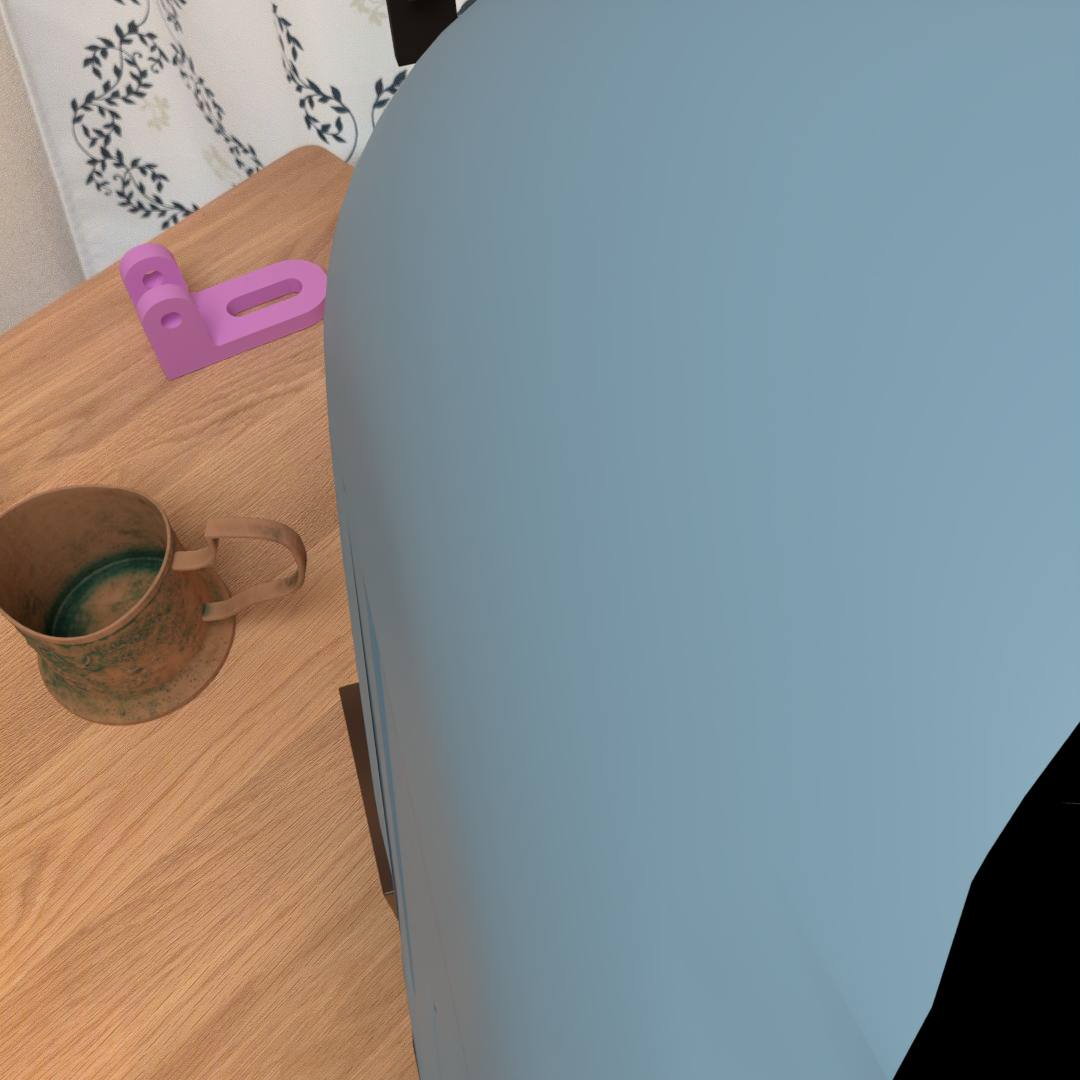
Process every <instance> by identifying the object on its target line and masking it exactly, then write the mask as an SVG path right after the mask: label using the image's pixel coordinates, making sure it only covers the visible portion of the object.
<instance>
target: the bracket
mask: <svg viewBox="0 0 1080 1080" xmlns="http://www.w3.org/2000/svg"><path fill="white" fill-rule="evenodd" d="M180 269H181V268H180V267H179V265H178V263H177V261H176V259H175V257H174V254H173V252H172V251H171V250H170V249H169V248H167V247H166V246H164V245H161V244H158V243H142V244H138V245H136V246H134V247H132V248H130V249H129V250H128V251H127V252H125V253H124V254H123V256H122V257H121V258H120V261H119V263H118V272H119V275H120V277H121V280H122V283H123V285H124V288H125V289H126V291H127V294H128V295H129V298H130V300H131V302H132V305H133V306H134V309H135V311H136V315H137V318H138V320H139V322H140V325H141V327H142V329H143V331H144V334H145V335H146V338H147V339H148V342H149V344H150V346H151V348H152V351H153V352H154V354H155V357H156V358H157V361H158V363H159V364H160V367H161V369H162V371H163V373H164V374H165V377H166V379H167V381H168V382H170V381H172V380H175V379H178V378H180V377H183V376H185V375H187V374H190V373H193V372H196V371H198V370H201V369H204V368H206V367H209V366H212V365H214V364H216V363H219V362H221V361H225V360H226V359H227V360H228V359H230V358H232V357H234V356H237V355H240V354H242V353H245V352H248V351H250V350H253V349H256V348H258V347H261V346H263V345H265V344H268V343H271V342H273V341H277V340H278V339H281V338H284V337H287V336H290V335H292V334H294V333H297V332H299V331H302V330H304V329H308V328H309V327H312V326H313V325H316V324H317V323H318V322H320V321H321V320H322V319H324V308H325V296H326V285H327V274H326V272H325V271H324V269H323V268H321V266H319V265H318V264H316V263H314V262H312V261H309V260H305V259H297V258H296V259H286V260H281V261H278V262H277V261H276V262H275V263H271V264H269V265H266V266H263V267H260V268H259V269H255V270H253V271H250V272H247V273H245V274H242V275H239V276H237V277H234V278H231V279H229V280H226V281H223V282H221V283H218V284H215V285H212V286H210V287H207V288H205V289H204V288H203V289H201V290H199V291H196V292H192V291H189V288H188V286H187V283H186V281H185V279H184V277H183V274H182V271H181V270H180ZM149 272H151V273H149ZM292 293H297V294H296V295H294V296H291V297H289V298H286V299H284V300H281V301H278V302H276V303H273V304H270V305H268V306H265V307H262V308H259V309H257V310H254V311H252V312H248V313H246V314H244V315H241V316H236V315H237V314H238V313H241V312H244V311H247V310H249V309H251V308H254V307H257V306H260V305H262V304H265V303H268V302H270V301H273V300H275V299H278V298H280V297H283V296H286V295H288V294H289V295H290V294H292Z"/></svg>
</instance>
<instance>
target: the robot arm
mask: <svg viewBox="0 0 1080 1080" xmlns="http://www.w3.org/2000/svg"><path fill="white" fill-rule="evenodd" d="M385 3H386V4H385V5H386V9H387V10H386V11H387V17H388V23H389V28H390V35H391V41H392V48H393V54H394V59H395V61H396V64H397V66H398V68H402V67H406V66H410V65H413V67H412V68H411V70H410V71H409V72H408V74H407V75H406V77H405V78H404V79H403V81H402V83H401V84H400V85H399V86H398V88H397V90H396V91H395V92H394V94H393V95H392V97H391V98H390V100H389V101H388V103H387V105H386V107H385V108H384V110H383V112H381V115H380V116H379V118H378V119H377V121H376V123H375V126H374V128H373V129H372V132H371V134H370V136H369V138H368V140H367V141H366V144H365V146H364V148H363V150H362V152H361V154H360V156H359V159H358V160H357V162H356V164H355V166H354V168H353V172H352V175H351V177H350V181H349V183H348V185H347V188H346V191H345V194H344V197H343V200H342V203H341V206H340V208H339V213H338V218H337V221H336V225H335V228H334V232H333V237H332V242H331V249H330V255H329V262H328V269H327V274H326V275H327V285H326V296H325V308H324V317H323V355H324V356H323V357H324V358H323V359H324V373H325V374H324V375H325V377H324V378H325V391H326V406H327V407H326V409H327V420H328V433H329V434H328V435H329V442H330V450H331V451H330V452H331V453H330V454H331V462H332V472H333V483H334V492H335V501H336V509H337V519H338V529H339V537H340V546H341V555H342V562H343V565H342V566H343V571H344V572H343V573H344V580H345V589H346V596H347V605H348V610H349V617H350V619H349V620H350V626H351V633H352V642H353V649H354V656H355V663H356V671H357V679H358V682H359V687H360V695H361V702H362V709H363V716H364V723H365V730H366V737H367V744H368V751H369V758H370V766H371V773H372V780H373V787H374V794H375V800H376V805H377V811H378V817H379V822H380V828H381V832H382V836H383V840H384V844H385V849H386V853H387V857H388V861H389V866H390V870H391V874H392V879H393V886H394V893H395V900H396V907H397V914H398V920H397V922H398V921H399V922H398V927H399V928H398V929H399V934H400V948H401V950H400V951H401V963H402V964H401V965H402V974H403V975H402V976H403V982H404V987H405V995H406V1001H407V1006H408V1012H409V1019H410V1026H411V1036H412V1037H411V1039H412V1048H413V1054H414V1057H415V1063H416V1069H417V1074H418V1078H419V1079H418V1080H1080V0H475V1H474V2H473V3H472V4H471V5H470V6H468V8H467V9H465V11H464V12H462V13H461V14H460V15H459V16H458V11H457V1H456V0H385Z"/></svg>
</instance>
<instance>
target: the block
mask: <svg viewBox="0 0 1080 1080" xmlns="http://www.w3.org/2000/svg"><path fill="white" fill-rule="evenodd" d="M338 693H339V698H340V702H341V707H342V712H343V716H344V721H345V725H346V730H347V734H348V739H349V744H350V748H351V753H352V757H353V762H354V767H355V771H356V776H357V780H358V785H359V786H358V787H359V791H360V794H361V799H362V804H363V808H364V813H365V817H366V822H367V826H368V827H367V828H368V832H369V837H370V841H371V846H372V849H373V855H374V859H375V863H376V868H377V872H378V876H379V877H378V878H379V882H380V887H381V892H382V895H383V897H384V898H385V901H386V902H387V904H388V906H389V907H390V909H391V911H392V914H393V915H394V916H395V918H396V920H397V922H398V923H399V921H398V914H397V907H396V900H395V893H394V886H393V879H392V874H391V870H390V866H389V861H388V857H387V853H386V849H385V844H384V840H383V836H382V832H381V828H380V822H379V817H378V811H377V805H376V800H375V794H374V787H373V780H372V773H371V766H370V758H369V751H368V744H367V737H366V730H365V723H364V716H363V709H362V702H361V695H360V687H359V681H357V682H354V683H349V684H347V685H343V686H340V687H338Z"/></svg>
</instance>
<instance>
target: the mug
mask: <svg viewBox="0 0 1080 1080" xmlns="http://www.w3.org/2000/svg"><path fill="white" fill-rule="evenodd" d="M203 537H204V539H205V541H206V543H207V546H206V547H204V548H203V547H202V548H199V549H193V550H186V548H185V547H184V545H183V543H182V541H181V540H180V539H179V537H178V535H177V533H176V531H175V530H174V528H173V527H172V524H171V521H170V520H169V518H168V515H166V513H165V510H164V509H163V508H162V506H161V505H160V504H159V503H158V501H156V500H155V499H154V498H153V497H151V496H150V495H148V494H147V493H144V491H140V490H138V489H134V488H132V487H131V488H130V487H126V486H120V485H113V484H96V483H95V484H91V483H90V484H74V485H66V486H61V487H55V488H52V489H48V490H44V491H41V492H39V493H36V494H33V495H30V496H28V497H27V498H25V499H23V500H21V501H19V502H17V503H16V504H13V505H12V506H11V507H9V508H8V509H6V510H5V511H3V512H2V513H1V514H0V614H1V615H2V616H3V617H4V618H5V620H6V621H8V622H9V623H10V624H11V625H12V626H13V627H14V628H15V629H16V630H17V632H18V633H19V634H21V636H22V637H23V638H24V639H25V640H26V644H27V645H28V646H29V647H31V648H32V649H33V650H34V651H35V653H36V655H37V657H36V658H37V666H38V670H39V675H40V677H41V679H42V682H43V684H44V686H45V688H46V689H47V691H48V692H49V694H50V695H51V696H52V697H53V698H54V700H55V701H56V702H57V703H58V704H59V705H60V706H62V707H63V708H64V709H65V710H66V711H68V712H69V713H71V714H73V715H75V716H76V717H78V718H80V719H82V720H85V721H87V722H91V723H94V724H98V725H103V726H104V725H105V726H117V727H118V726H119V727H120V726H133V725H139V724H144V723H148V722H152V721H154V720H155V721H156V720H157V719H161V718H163V717H166V716H168V715H169V714H171V713H174V712H175V711H178V710H179V709H181V708H183V707H184V706H186V705H187V704H189V703H190V702H191V701H193V700H194V699H195V698H197V696H199V695H200V694H201V693H202V692H203V691H204V690H205V689H206V688H207V687H208V686H210V684H211V683H212V682H213V680H214V679H215V678H216V676H217V675H218V674H219V672H220V670H221V669H222V668H223V666H224V664H225V663H226V660H227V658H228V656H229V653H230V651H231V649H232V645H233V642H234V637H235V631H236V630H235V629H236V616H235V615H237V614H238V613H240V612H241V611H243V610H245V609H248V608H249V607H253V606H254V605H257V604H262V603H265V602H270V601H275V600H279V599H283V598H286V597H287V598H288V597H289V596H291V595H294V594H295V593H297V592H298V591H300V590H301V588H302V587H303V585H304V583H305V579H306V573H307V564H308V553H307V549H306V547H305V544H304V542H303V539H302V537H301V536H300V534H299V533H298V532H297V531H296V530H295V529H294V528H293V527H290V526H289V525H288V524H285V523H282V522H279V521H277V520H271V519H264V518H259V517H258V518H256V517H255V518H254V517H208V518H206V522H205V527H204V534H203ZM220 539H249V540H251V539H252V540H260V541H268V542H272V543H275V544H279V545H281V546H283V547H285V548H286V549H287V550H289V552H290V553H291V555H292V557H293V559H294V561H295V564H296V566H297V569H296V571H295V572H294V573H292V574H291V575H289V576H287V577H284V578H281V579H277V580H271V581H268V582H263V583H260V584H255V585H253V586H251V587H248V588H246V589H244V590H242V591H240V592H239V593H237V594H235V595H233V596H232V597H231V595H230V593H229V591H228V590H227V587H226V585H225V583H224V582H223V580H222V579H221V577H220V576H219V575H218V574H217V572H216V571H214V570H213V569H212V568H211V567H210V565H211V564H212V563H214V561H215V560H216V558H217V556H218V555H217V554H218V548H219V543H220Z"/></svg>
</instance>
